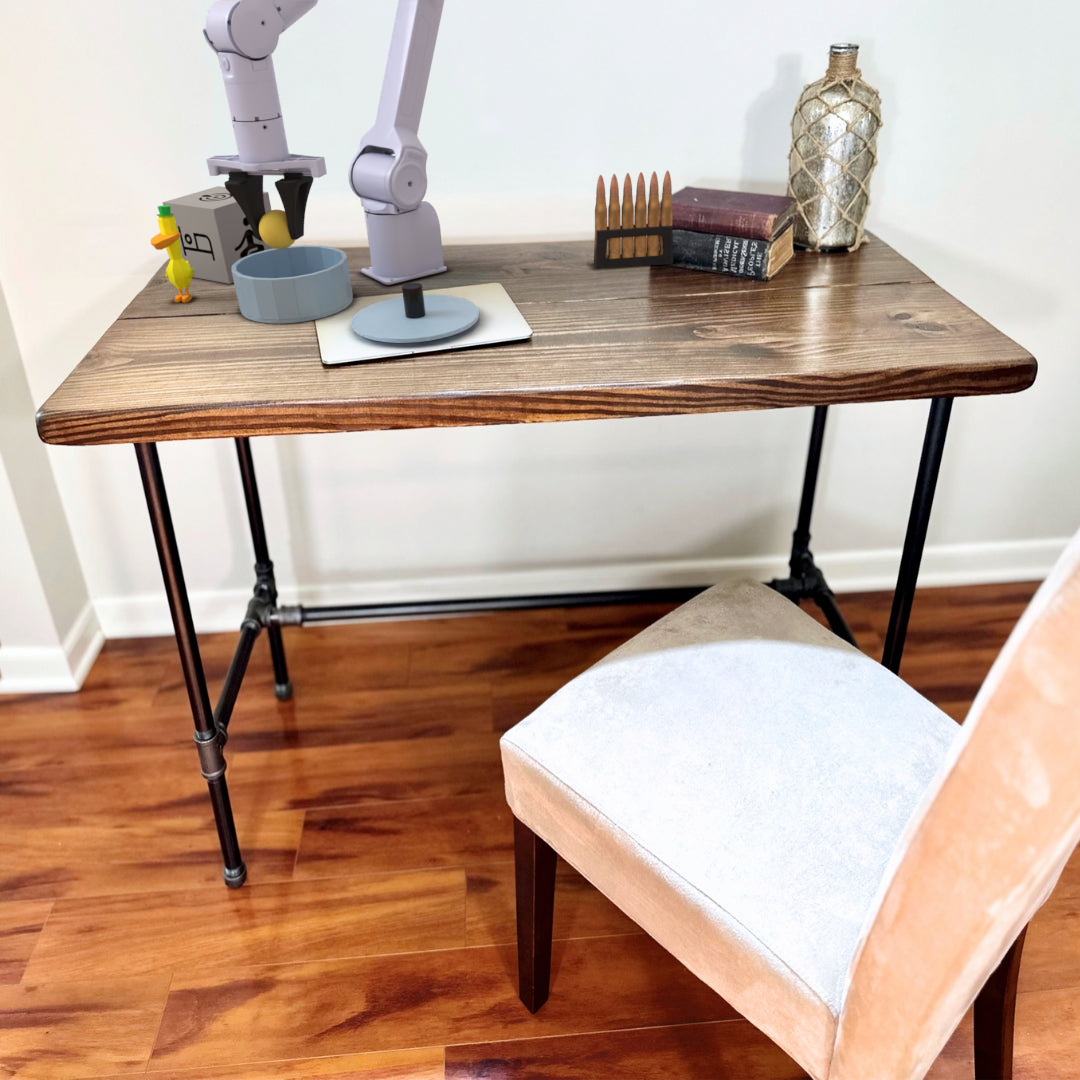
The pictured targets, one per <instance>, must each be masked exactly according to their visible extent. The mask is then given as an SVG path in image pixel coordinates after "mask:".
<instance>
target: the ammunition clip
mask: <svg viewBox="0 0 1080 1080" xmlns="http://www.w3.org/2000/svg"><path fill="white" fill-rule="evenodd" d="M610 179H611V180H610V186H609V199H608V200H609V202H608V206H607V199H606V186H605V180H604V176H603V175H602V174H599V176H598V178H597V183H596V191H595V193H596V195H595V206H594V244H593V245H594V248H593V266H594V269H596V270H599V269H600V270H601V269H613V268H615V269H616V268H631V267H643V266H645V267H646V266H658V265H660V266H661V265H672V264H673V263H674V231H673V230H674V229H673V215H674V214H673V211H674V208H673V207H674V205H673V203H674V202H673V194H672V191H673V190H672V188H673V185H672V177H671V174H670V171H669V170H668V169H667V170H666V171H665V174H664V177H663V181H662V193H661V201H660V196H659V195H660V193H659V180H658V179H659V178H658V176H657V172H656V171H653V172H652V173H651V178H650V182H649V194H648V202H647V199H646V198H647V197H646V182H645V181H646V180H645V176H644V174H643V172H642V171H640V172H639V174H638V178H637V182H636V189H635V191H636V192H635V193H636V194H635V203H634V199H633V197H634V196H633V184H632V183H633V182H632V179H631V175H630V173H629V172H627V173H626V175H625V176H624V182H623V189H622V204H620V188H619V182H618V178H617V175H616V174H615V173H613V174H612V176H611V178H610Z"/></svg>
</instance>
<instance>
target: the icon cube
mask: <svg viewBox="0 0 1080 1080" xmlns="http://www.w3.org/2000/svg"><path fill="white" fill-rule="evenodd" d="M263 198H264V207H265V212H266V213H267V212H269V211H271V210H272V205H271V199H270V195H269V191H263ZM164 205H170V206H171V213H174V215H173V216H174V217H175V221H176V225H177V229H178V233H181V235H180V237H179V239H180V247H181V255H182V258H183V259H184V260H185V261H187V260H188V264H190V268H193V270H194V276H193V278H195V279H202V280H207V281H211V282H218V283H223V284H229V285H230V284H234V280H233V275H232V265H233V264H234V263H235V262H236V261H238V260H239V259H241V258H244V257H246V256H248V255H250V254H254V253H257V252H261V251H265V250H268V249H275V248H272V247H270V246H268V245H267V244H266V243H265V242H264V241H263V240H262V238H256V237H255V235H254V233H253V231H252V228H251V226H250V224H249V222H248V220H247V218H246V216H245V214H244V212H243V211H242V209H241V208H240V206H239V204H238V203H237V202H236V200H235V199H234V198H233V196H232V195H231V194H230V193H229V192H228V190H227V189H226V187H225V186H220V185H217V186H214V187H213V186H212V187H211V188H210V187H209V188H207V189H202V190H200V191H197V192H193V193H190V194H185V195H183V196H180V197H179V196H178V197H176V198H172V199H169V200H166V201H163V202H162V206H164Z"/></svg>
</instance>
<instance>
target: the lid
mask: <svg viewBox="0 0 1080 1080" xmlns="http://www.w3.org/2000/svg"><path fill="white" fill-rule="evenodd" d="M423 288H424V287H423V284H422V283H420V282H409V283H404V284H402V286H401V291H402V296H397V297H392V298H388V299H387V298H386V299H384V300H380V301H377V302H374V303H372V304H370V305H367V306H365V307H363V308H362V309H360V310H359V311H357V312H356V313H355V314H354V315H353V316H352V319H351V327H352V330H353V332H354V333H356V334H357V335H358V336H361V337H363V338H365V339H368V340H372V341H376V342H382V343H383V342H384V343H396V344H401V343H402V344H405V343H406V344H408V343H409V344H410V343H421V342H429V341H435V340H439V339H444V338H448V337H451V336H454V335H458V334H460V333H462V332H464V331H466V330H468V329H469V328H471V327H473V326H474V325H475V324H476V323H477V322H478V320H479V318H480V310H479V307H478V306H477V305H476V304H475V303H473V302H472V301H470V300H469V299H466V298H462V297H459V296H453V295H446V294H424V289H423Z"/></svg>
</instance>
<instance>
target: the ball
mask: <svg viewBox="0 0 1080 1080" xmlns="http://www.w3.org/2000/svg"><path fill="white" fill-rule="evenodd" d="M259 233H260V236H261V238H262V240H263V241H264V242H265V243H266V244H267V245H268V246H270V247H272V248H275V249H285V248H288V247H289V246H293V245H294V244H295V242H296V240H291V237H290V234H289V230H288V224H287V219H286V214H285V210H283V209H271V211H269V212H267V213H266V214H264V215H263V217H262V218H261V220H260V223H259Z"/></svg>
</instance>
